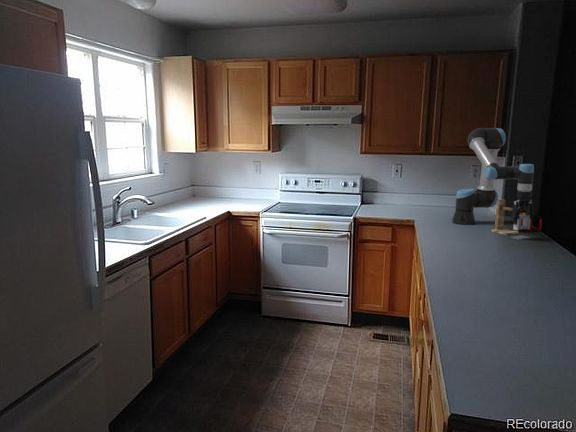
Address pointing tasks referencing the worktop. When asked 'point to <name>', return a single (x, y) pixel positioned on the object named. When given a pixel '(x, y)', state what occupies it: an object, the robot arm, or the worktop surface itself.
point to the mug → (530, 223)
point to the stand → (502, 219)
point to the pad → (520, 237)
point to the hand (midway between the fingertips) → (521, 229)
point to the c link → (524, 222)
